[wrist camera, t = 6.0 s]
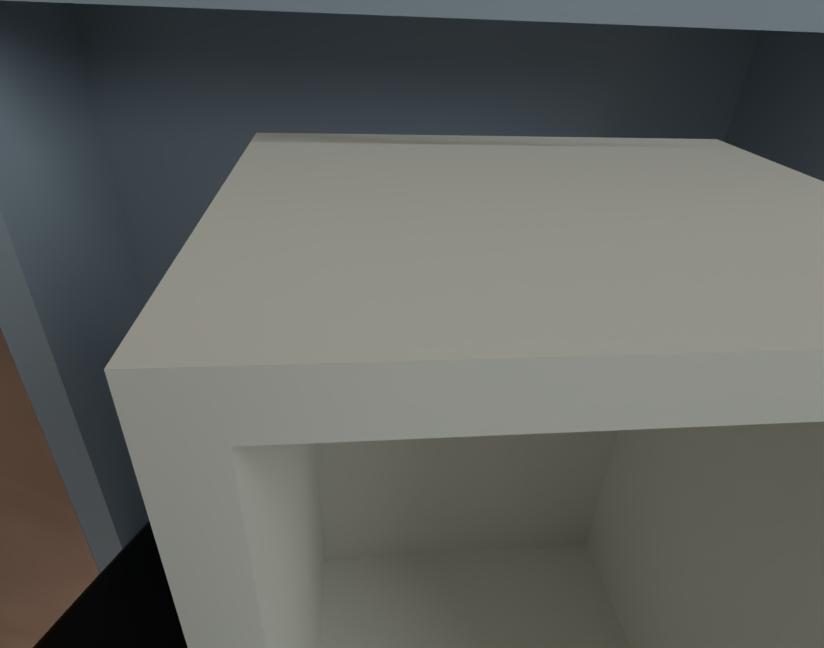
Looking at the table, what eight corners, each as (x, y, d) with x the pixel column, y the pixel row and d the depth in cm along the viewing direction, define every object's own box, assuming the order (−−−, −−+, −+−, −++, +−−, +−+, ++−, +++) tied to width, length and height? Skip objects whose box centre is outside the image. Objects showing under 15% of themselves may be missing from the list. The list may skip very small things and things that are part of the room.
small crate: (595, 538, 12) (742, 860, 7) (300, 556, 11) (270, 922, 7) (717, 138, 7) (1215, 338, 3) (256, 133, 7) (103, 370, 3)
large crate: (642, 410, 17) (730, 536, 13) (162, 430, 16) (103, 579, 12) (782, -14, 11) (1013, -11, 7) (38, -50, 10) (-162, -72, 6)
